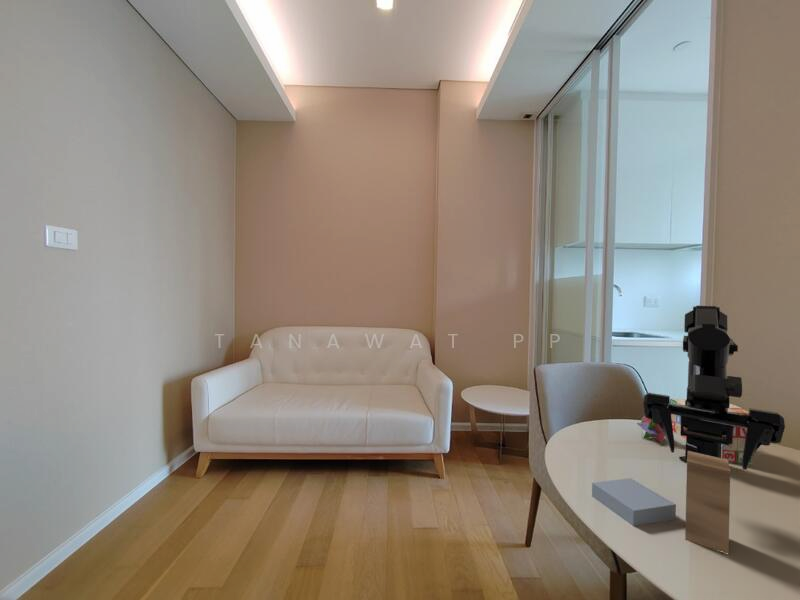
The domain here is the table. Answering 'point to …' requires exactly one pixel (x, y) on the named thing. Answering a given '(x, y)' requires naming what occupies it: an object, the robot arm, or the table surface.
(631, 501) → the slate base block
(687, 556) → the table surface
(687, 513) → the walnut block
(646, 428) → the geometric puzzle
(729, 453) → the stack of blocks
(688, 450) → the robot arm
